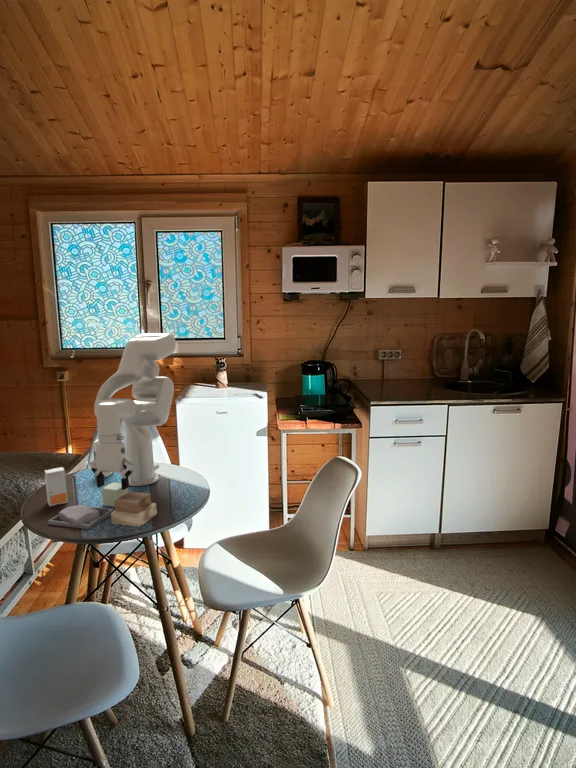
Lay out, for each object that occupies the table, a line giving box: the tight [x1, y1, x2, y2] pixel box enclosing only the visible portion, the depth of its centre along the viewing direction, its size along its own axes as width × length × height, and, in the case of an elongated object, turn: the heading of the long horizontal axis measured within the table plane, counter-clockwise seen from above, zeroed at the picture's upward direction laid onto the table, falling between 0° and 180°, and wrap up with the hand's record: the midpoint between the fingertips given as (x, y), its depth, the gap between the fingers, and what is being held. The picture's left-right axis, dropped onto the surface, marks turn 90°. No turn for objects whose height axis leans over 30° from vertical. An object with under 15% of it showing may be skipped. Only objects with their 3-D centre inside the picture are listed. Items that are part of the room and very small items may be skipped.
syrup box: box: [92, 438, 114, 478], centre depth 204 cm, size 6×6×14 cm
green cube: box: [101, 482, 129, 507], centre depth 176 cm, size 6×6×6 cm
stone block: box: [58, 504, 100, 528], centre depth 164 cm, size 12×5×10 cm
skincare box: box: [44, 466, 69, 507], centre depth 176 cm, size 6×4×12 cm
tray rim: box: [47, 504, 114, 530], centre depth 164 cm, size 12×15×1 cm
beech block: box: [110, 502, 158, 528], centre depth 163 cm, size 10×10×4 cm
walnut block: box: [114, 491, 152, 514], centre depth 162 cm, size 8×8×4 cm
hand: (113, 487), depth 174 cm, fingers open, 9 cm apart
